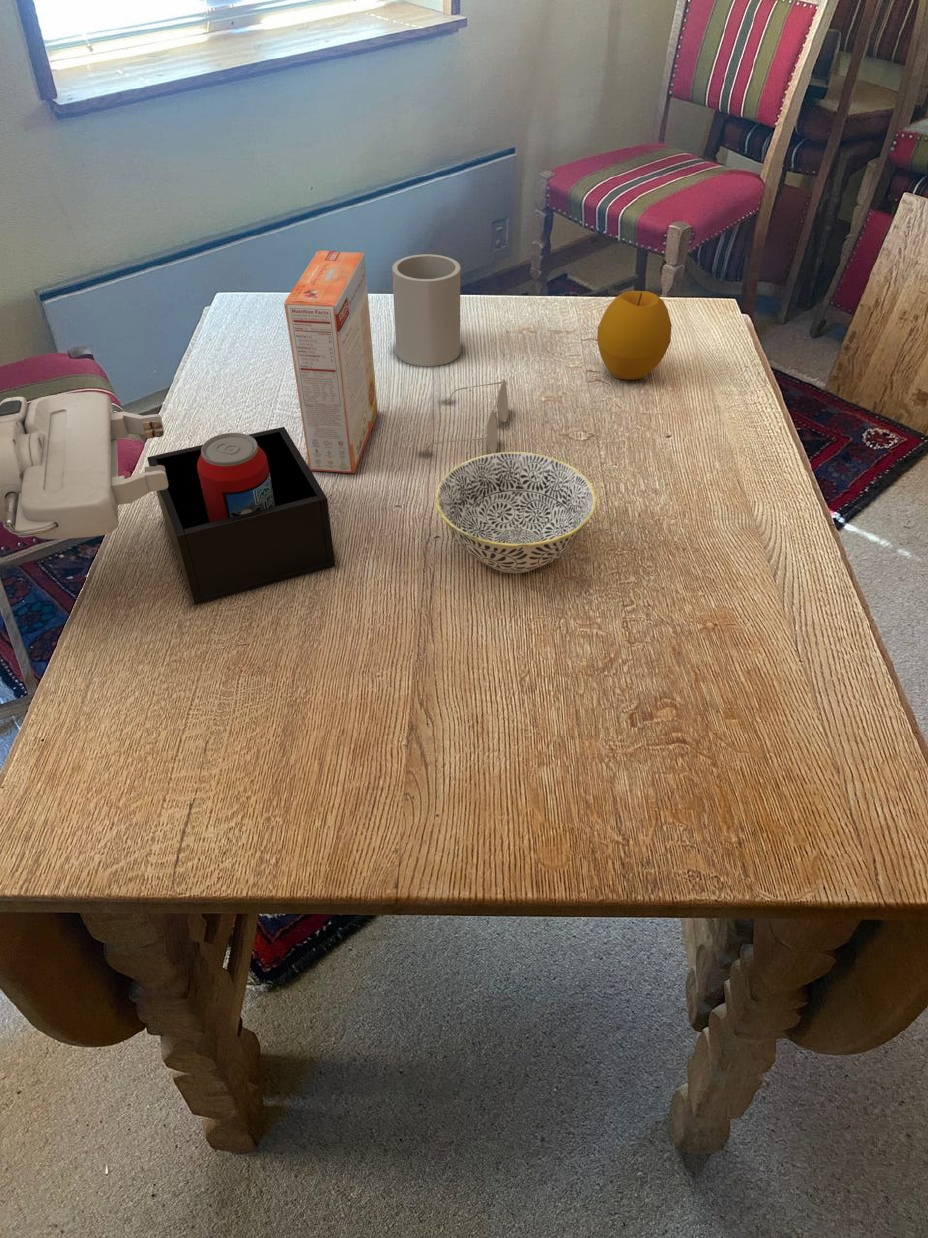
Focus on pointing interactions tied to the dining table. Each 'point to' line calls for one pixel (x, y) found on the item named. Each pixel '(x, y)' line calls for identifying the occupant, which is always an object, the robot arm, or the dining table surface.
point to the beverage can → (234, 476)
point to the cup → (427, 309)
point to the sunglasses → (490, 417)
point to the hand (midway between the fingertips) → (164, 449)
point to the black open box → (247, 524)
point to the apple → (634, 334)
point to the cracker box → (333, 359)
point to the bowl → (515, 508)
